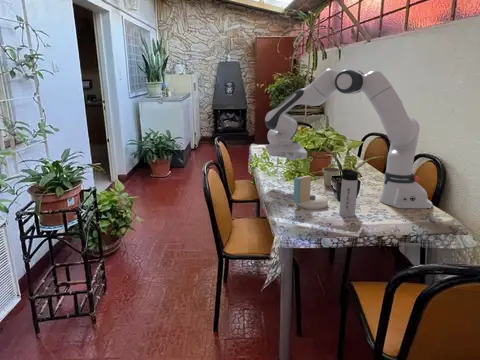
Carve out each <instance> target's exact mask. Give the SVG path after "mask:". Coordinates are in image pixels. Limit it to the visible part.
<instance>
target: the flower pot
mask: <svg viewBox="0 0 480 360" xmlns="http://www.w3.org/2000/svg"><path fill="white" fill-rule="evenodd" d="M321 170H322V172H323V182H324V183H323V184H324V185H325V186H328V187H332V186H331V176H332V175H338V176H339V174H340V171H339V168H337V167H332V166H331V167H323V168H322V169H321Z"/></svg>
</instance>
